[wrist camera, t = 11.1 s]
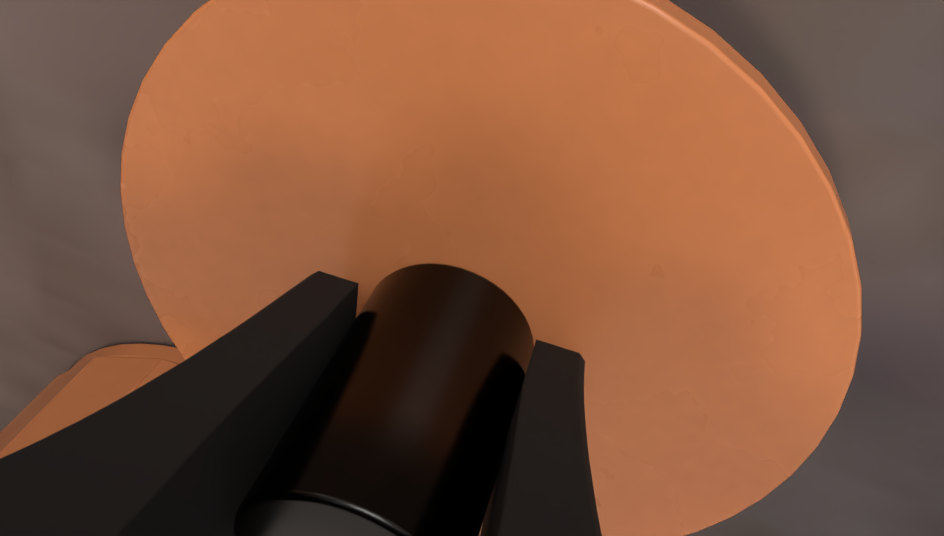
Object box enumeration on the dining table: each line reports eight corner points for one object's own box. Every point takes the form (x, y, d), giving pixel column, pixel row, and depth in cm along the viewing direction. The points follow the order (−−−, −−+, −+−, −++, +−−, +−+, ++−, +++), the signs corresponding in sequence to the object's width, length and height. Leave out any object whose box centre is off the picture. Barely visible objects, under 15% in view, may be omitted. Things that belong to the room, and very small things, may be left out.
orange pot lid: (687, 569, 15) (672, 883, 11) (193, 399, 16) (18, 622, 12) (1049, 52, 8) (1390, 409, 4) (112, -179, 9) (-376, -94, 5)
